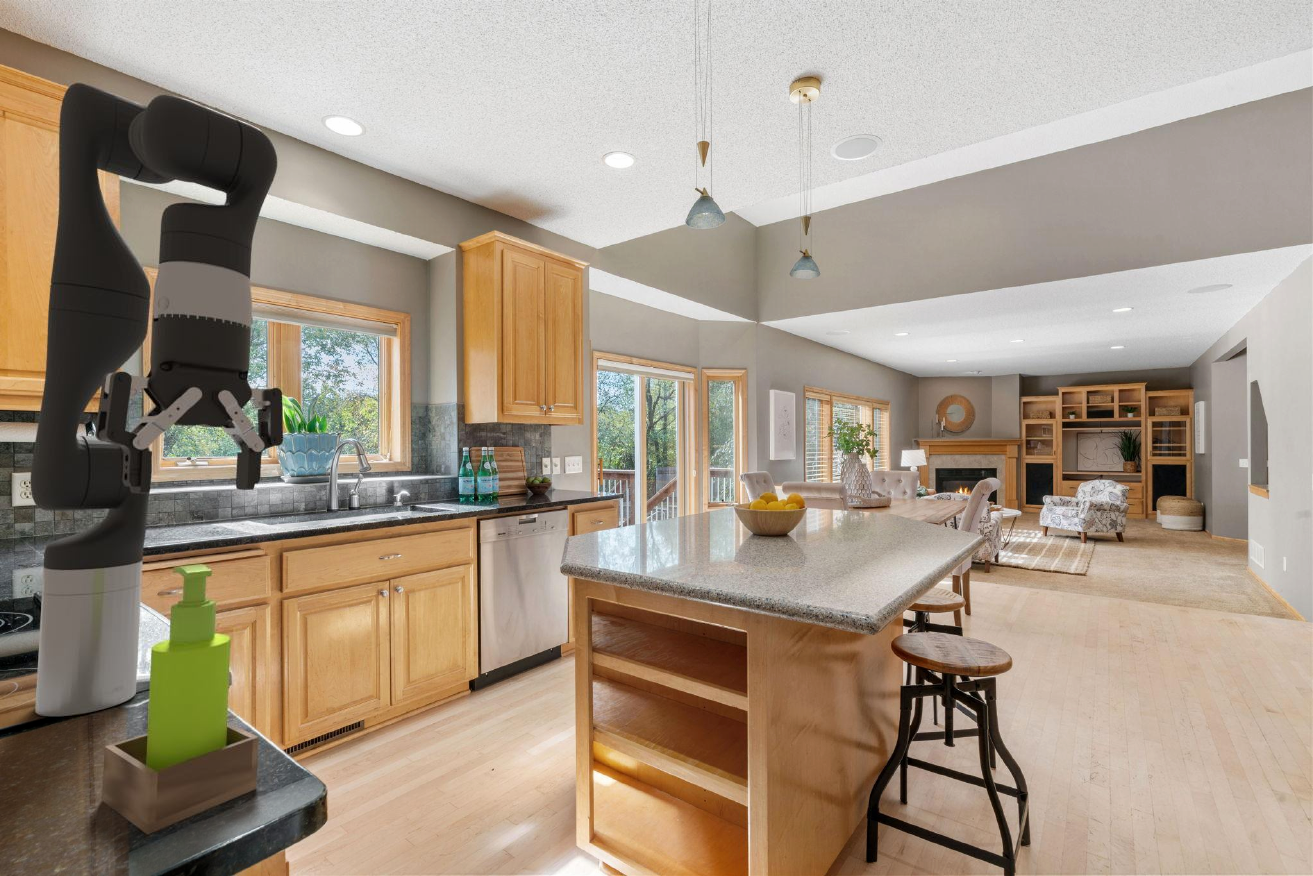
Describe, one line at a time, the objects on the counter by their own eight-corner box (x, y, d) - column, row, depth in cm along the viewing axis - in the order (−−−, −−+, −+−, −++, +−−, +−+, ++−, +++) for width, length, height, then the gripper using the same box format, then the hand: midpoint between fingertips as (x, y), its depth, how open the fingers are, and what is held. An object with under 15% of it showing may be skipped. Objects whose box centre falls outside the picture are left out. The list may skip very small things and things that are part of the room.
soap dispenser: (211, 759, 61) (220, 559, 62) (233, 784, 57) (242, 567, 58) (135, 782, 57) (145, 566, 58) (152, 811, 52) (163, 575, 53)
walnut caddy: (101, 800, 55) (104, 746, 56) (207, 762, 63) (209, 714, 63) (147, 834, 51) (150, 775, 51) (256, 788, 58) (258, 737, 58)
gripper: (262, 337, 66) (255, 487, 66) (90, 307, 54) (80, 492, 53) (301, 331, 62) (294, 490, 62) (126, 297, 50) (115, 496, 50)
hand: (195, 491), depth 58 cm, fingers open, 8 cm apart
